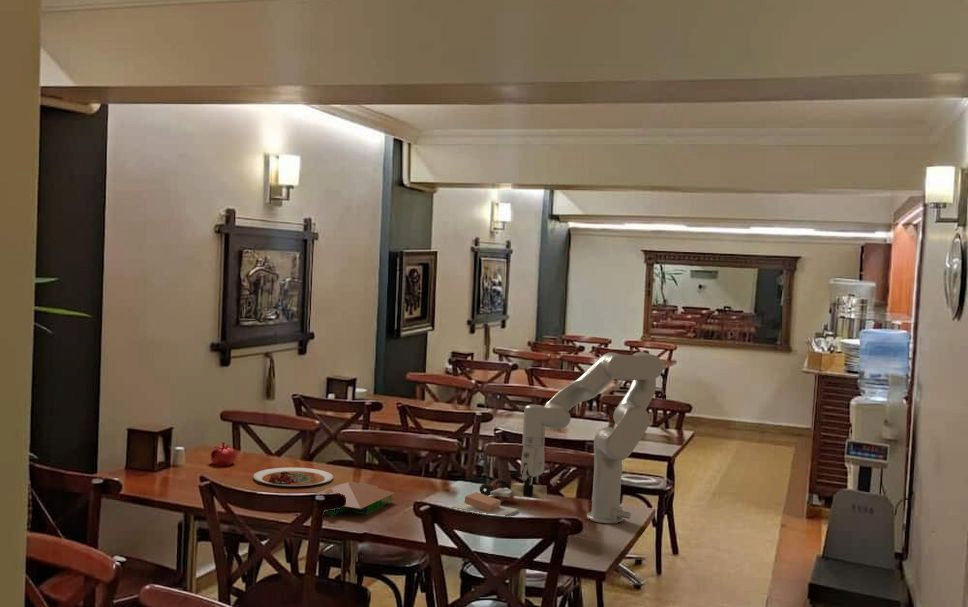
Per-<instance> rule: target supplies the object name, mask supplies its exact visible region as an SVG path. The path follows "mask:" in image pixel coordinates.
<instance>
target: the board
mask: <svg viewBox="0 0 968 607" xmlns="http://www.w3.org/2000/svg"><path fill="white" fill-rule="evenodd" d="M464 502H465V500H464V501H462V502H460V503H457V504H455V505H452V506H451V509H452V508H457V509H462V510H467V511H474V512H479V513H486V514H496V515H505V516H509V517H510V515H511V516H513V515H515V514H517V513H519V508H513V507H508V506H502V505H500V507H499V508H497V509H495V510H493V511H490V512H488V511H485V510H482V509H480V508H477V507H474V506H471V505H468V504H465V503H464Z"/></svg>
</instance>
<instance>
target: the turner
mask: <svg viewBox="0 0 968 607" xmlns="http://www.w3.org/2000/svg"><path fill="white" fill-rule="evenodd" d="M510 485H511V489H508V488H500V487H499V489H496V490H494V491H491V492H490V495H489V496H490V497H501V496H502V497H509V498H511V497H517V498H527V499H538V500H544V499H547V498H548V489H547V488H548V485H545V484H544V485H543V484H542V485H541V484H538V485H533V484H532V485H533V494H532V497H527V496H523V490H524V484H523V482H522V483H521V482H513V483H510Z"/></svg>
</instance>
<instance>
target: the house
mask: <svg viewBox="0 0 968 607" xmlns="http://www.w3.org/2000/svg"><path fill="white" fill-rule="evenodd" d="M330 493H340V494H343V495H345V497H346V505H345V506H344V507H343V509H344V511H345V510H347V508H350V509H354V510H355V513H359V514H362V512H361V511H362V510H363V509H365V508H366V510H365V512H363V514H365V515H367V514H370V513H371V512H374V511H376V510H377V508H378V509H380V508H382V507H384V506H383V505H385V504H386V503H384V502H386V499H387V498H388V500H389V503H390V502H391V501H393V499H392V498H393V495H394V494H396V492H394V491H391V490H390V491H389V490H386V489H382V488H380V486H377V485H373V484H369V483H365V482H361V481H360V482H356V481H353V480H351V481H348V482H344V483H338V484H336V485H334V486H331V487H329V488H327V489H324V490H321V491H318V492H315V493H314V494H330ZM391 503H392V502H391ZM374 506H375V508H374ZM385 506H386V505H385ZM338 509H339V508H338ZM338 509H337V510H336V514H337V513H339V512H341V513H342V510H341V508H340V509H339V510H338ZM359 510H360V512H359ZM334 512H335V509H334ZM334 512H333V511H331V510H330V511H329V510H326V513H328V514H331V517H334V516H333V515H335V513H334ZM339 514H340V513H339Z"/></svg>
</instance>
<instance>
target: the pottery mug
mask: <svg viewBox="0 0 968 607" xmlns="http://www.w3.org/2000/svg"><path fill="white" fill-rule="evenodd" d="M500 483H501V486H502V487H505V488H507V489H511V483H509V482H508V481H506V480H504V479H500V478H499V479H495V480H494V481H492V482H490V483H489V484H487V483H482V484H481V485H480V487H479V493H481V494H484V495H487V496H489V497H490V496H491V495H490V492H491V491H494V490H496V489H499V488H500V487H499V486H498V485H499V484H500ZM499 497H500V498H498V500H501V503H503V502H505V501H506V500H508V499H509V498H510V497H502V496H499Z"/></svg>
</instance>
